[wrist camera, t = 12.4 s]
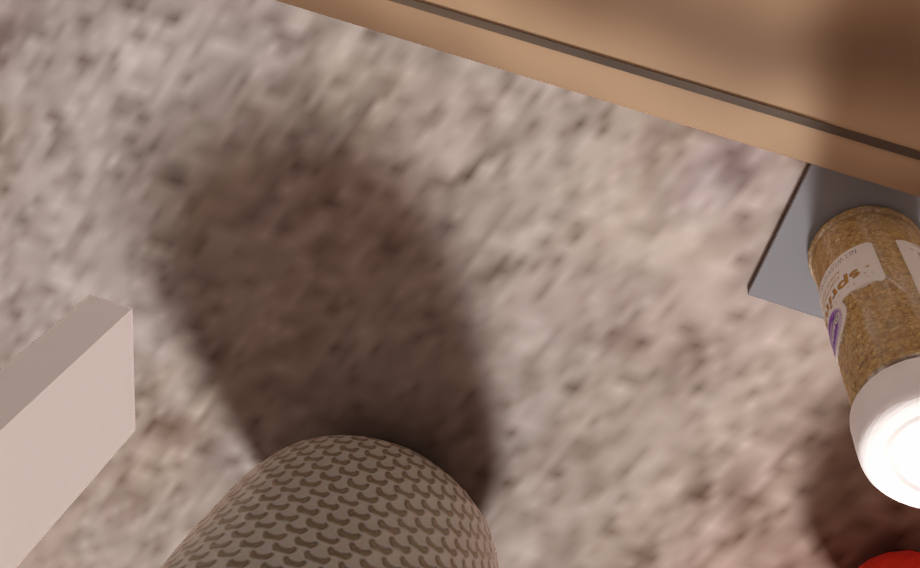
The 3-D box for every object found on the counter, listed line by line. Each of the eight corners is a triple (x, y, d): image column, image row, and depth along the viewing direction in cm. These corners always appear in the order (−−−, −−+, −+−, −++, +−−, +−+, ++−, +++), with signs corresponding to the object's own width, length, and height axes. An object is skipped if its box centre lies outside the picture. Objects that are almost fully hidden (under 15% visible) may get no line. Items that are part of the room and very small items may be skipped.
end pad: (816, 150, 34) (817, 152, 34) (988, 202, 33) (991, 205, 33) (747, 291, 37) (748, 294, 37) (901, 341, 37) (903, 344, 36)
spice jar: (797, 217, 35) (846, 404, 23) (916, 190, 33) (1033, 378, 22) (816, 309, 37) (872, 525, 25) (931, 288, 35) (1046, 510, 24)
